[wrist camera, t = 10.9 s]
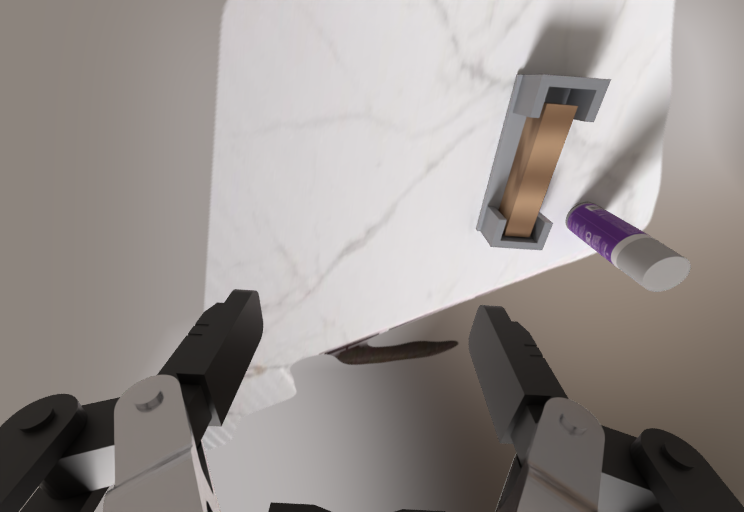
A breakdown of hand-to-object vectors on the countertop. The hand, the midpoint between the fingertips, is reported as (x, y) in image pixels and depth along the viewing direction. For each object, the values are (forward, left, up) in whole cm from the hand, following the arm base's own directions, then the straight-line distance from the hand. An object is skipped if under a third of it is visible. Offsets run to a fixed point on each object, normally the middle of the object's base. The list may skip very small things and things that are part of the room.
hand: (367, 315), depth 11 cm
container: (+8, +31, -33) cm, 46 cm away
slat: (+2, +20, -32) cm, 38 cm away
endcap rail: (+1, +20, -33) cm, 39 cm away
